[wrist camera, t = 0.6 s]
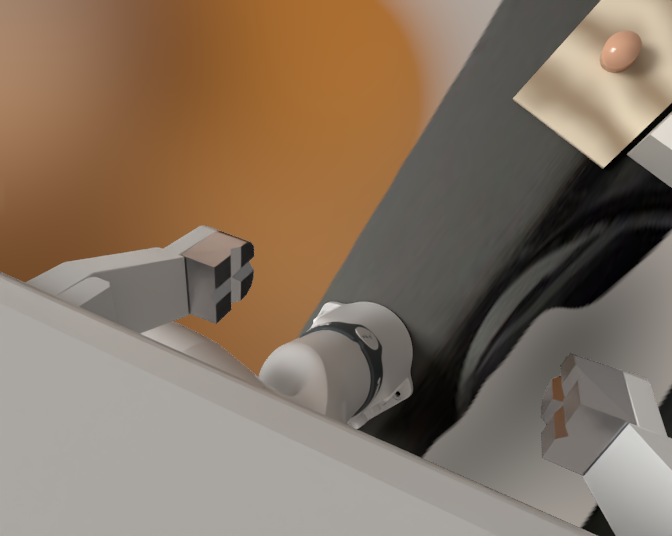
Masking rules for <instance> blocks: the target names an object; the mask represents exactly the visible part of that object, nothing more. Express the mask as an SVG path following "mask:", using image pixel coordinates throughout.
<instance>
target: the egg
mask: <svg viewBox="0 0 672 536" xmlns="http://www.w3.org/2000/svg"><path fill="white" fill-rule="evenodd" d="M641 47H642V41H641V38H640V37H639V35H638V34H636V33H635V32H632V31H621V32H618V33H616V34H614V35H612V36H611V37H610V38H609V39H608V40H607V42H606V43H605V45H604V48H603V50H602V52H601V55H600V65H601V67H602V68H603V69H604V70H606V71H608V72H611V73H617V72H621V71H624V70H626V69H627V68H628V67H630V66H631V65H632V63H633V62H634V60H635V59H636V57H637V56H638V54H639V52H640V50H641Z"/></svg>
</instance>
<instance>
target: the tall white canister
mask: <svg viewBox="0 0 672 536" xmlns="http://www.w3.org/2000/svg"><path fill="white" fill-rule="evenodd" d="M627 155H628V156H629V157H631V158H632V159H634V160H635V161H636V162H638V163H639V164H640V165H642V166H643V167H644V168H646V169H647V170H648V171H650V172H651V173H652V174H654V175H655V176H656V177H658V178H659V179H661V180H662V181H663V182H665V183H666V184H667V185H669V186H670V187H671V188H672V112H671V113H670V114H669V115H668V116H667V117H666V118H664V119H663V120H662V121H661V122H660V123H659V124H658V125H657V126H656V127H655V128H654V129H653V130H652V131H651V132H650V133H649V134H648V135H647V136H646V137H644V138H643V139H642V140H641V141H640V142H639V143H638V144H637V145H636V146H635V147H634V148H633V149H632V150H631V151H630V152H629V153H628V154H627Z"/></svg>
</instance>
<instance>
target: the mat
mask: <svg viewBox="0 0 672 536" xmlns="http://www.w3.org/2000/svg"><path fill="white" fill-rule="evenodd" d="M621 31H632V32H635V33H636V34H638V35H639V37H640V38H641V41H642V47H641V50H640V52H639V54H638V56H637V57H636V59H635V60H634V62H633V63H632V65H631V66H630V67H628V68H627V69H626V70H624V71H621V72H617V73H611V72H608V71H606V70H604V69H603V68H602V67H601V65H600V55H601V52H602V50H603V48H604V45H605V43H606V42H607V40H608V39H609V38H610V37H611V36H612V35H614V34H616V33H618V32H621ZM513 100H514V101H515V102H516V103H518V104H519V105H520V106H522V107H523V108H524V109H526V110H527V111H528V112H530V113H531V114H532V115H533V116H535V117H536V118H537V119H539V120H540V121H541V122H543V123H544V124H545V125H547V126H548V127H549V128H550V129H552V130H553V131H554V132H556V133H557V134H558V135H560V136H561V137H562V138H564V139H565V140H566V141H567V142H569V143H570V144H571V145H573V146H574V147H575V148H577V149H578V150H579V151H581V152H582V153H583V154H584V155H586V156H587V157H588V158H590V159H591V160H592V161H594V162H595V163H596V164H598V165H599V166H600V167H601V168H604V167H605V166H606V165H607V164H608V163H609V162H610V161H611V160H613V159H614V158H615V157H616V156H617V155H618V154H619V153H620V152H621V151H622V150H623V149H624V148H625V147H626V146H627V145H628V144H629V143H630V142H631V141H632V140H633V139H634V138H636V137H637V136H638V135H639V134H640V133H641V132H642V131H643V130H644V129H645V128H646V127H647V126H648V125H649V124H650V123H651V122H652V121H653V120H654V119H655V118H656V117H657V116H659V115H660V114H661V113H662V112H663V111H664V110H665V109H666V108H667V107H668V106H669V105H670V104H671V103H672V0H601V1H600V2H599V3H598V4H597V5H596V6H595V8H594V9H593V10H592V11H591V12H590V13H589V14H588V15H587V17H586V18H585V19H584V20H583V21H582V22H581V23H580V24H579V25H578V27H577V28H576V29H575V30H574V31H573V32H572V33H571V34H570V35H569V37H568V38H567V39H566V40H565V41H564V42H563V43H562V44H561V45H560V47H559V48H558V49H557V50H556V51H555V52H554V53H553V54H552V56H551V57H550V58H549V59H548V60H547V61H546V62H545V63H544V64H543V66H542V67H541V68H540V69H539V70H538V71H537V72H536V73H535V74H534V76H533V77H532V78H531V79H530V80H529V81H528V82H527V83H526V85H525V86H524V87H523V88H522V89H521V90H520V91H519V92H518V93H517V95H516V96H515V97H514V98H513Z"/></svg>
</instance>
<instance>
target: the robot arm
mask: <svg viewBox="0 0 672 536" xmlns="http://www.w3.org/2000/svg"><path fill="white" fill-rule="evenodd" d="M253 257H254V246H253V245H252V243H251V242H249V241H247V240H244V239H241V238H239V237H236V236H233V235H230V234H228V233H225V232H222V231H219V230H217V229H214V228H211V227H208V226H199V227H198V228H196V229H195V230H193V231H191V232H190V233H188V234H186V235H185V236H183V237H182V238H180V239H178V240H177V241H175V242H173V243H172V244H170V245H169V246H167V247H165V248H164V249H162V248H159V247H157V248H151V249H145V250H138V251H132V252H126V253H120V254H113V255H107V256H100V257H94V258H88V259H82V260H75V261H69V262H64V263H62V264H60V265H58V266H56V267H54V268H52V269H51V270H49V271H47V272H45V273H43V274H41V275H39V276H37V277H35V278H33V279H31V280H29V281H28V282H26V283H24V282H22V281H20V280H17V279H15V278H13V277H10V276H8V275H6V274H4V273H1V272H0V536H597V535H595V534H593V533H590V532H588V531H586V530H584V529H581V528H579V527H577V526H575V525H572V524H570V523H568V522H565V521H563V520H561V519H559V518H556V517H554V516H552V515H550V514H547V513H545V512H543V511H541V510H538V509H536V508H533V507H531V506H529V505H527V504H525V503H522V502H520V501H518V500H516V499H513V498H511V497H509V496H507V495H504V494H502V493H499V492H498V491H495V490H493V489H491V488H488V487H486V486H483V485H481V484H479V483H477V482H475V481H473V480H470V479H468V478H466V477H464V476H461V475H459V474H456V473H454V472H452V471H450V470H448V469H445V468H443V467H441V466H439V465H436V464H434V463H432V462H429V461H427V460H425V459H423V458H421V457H418V456H416V455H414V454H411V453H409V452H407V451H405V450H402V449H400V448H398V447H396V446H393V445H391V444H389V443H387V442H384V441H382V440H380V439H378V438H375V437H373V436H371V435H368V434H366V433H364V432H362V431H359V430H357V429H358V428H360V427H361V426H363V425H364V424H365V423H366V422H367V421H368V420H369V419H371V418H373V417H375V416H377V415H378V414H380V413H382V412H384V411H385V410H387V409H389V408H391V407H392V406H394V405H396V404H398V403H400V402H401V401H403V400H405V399H407V398H408V397H409V396H411V395H412V393H413V383H412V379H411V375H410V370H411V364H412V357H413V349H412V342H411V338H410V335H409V333H408V331H407V329H406V327H405V325H404V324H403V322H402V321H401V320H400V319H399V318H398V317H397V316H396V315H395V314H394V313H393V312H392V311H390V310H389V309H387V308H386V307H384V306H381V305H379V304H376V303H372V302H356V303H351V304H342V303H338V302H328V303H326V304H325V305H324V306H323V308H322V309H321V311H320V313H319V314H318V316H317V317H316V318H315V319H314V320H313V322H314V323H313V325H312V327H311V328H310V330H308V331H307V332H306V333H304V334H303V335H302V336H300V337H299V338H298V339H296V340H294V341H291V342H289V343H287V344H284V345H282V346H280V347H279V348H277V349H276V350H275V351H274V352H273V353H272V354H271V355H270V356H269V357H268V358H267V360H266V361H265V363H264V364H263V366H262V369H261V372H260V375H259V377H258V376H256V375H255V374H254V373H253V372H252V371H250V370H249V369H248V368H247V367H246V366H244V365H243V364H242V363H241V362H240V361H238V360H237V359H236V358H235V357H234V356H232V355H231V354H230V353H229V352H228V351H226V350H225V349H224V348H223V347H222V346H220V345H219V344H218V343H216V342H214V341H212V340H210V339H208V338H207V337H205V336H203V335H201V334H199V333H197V332H195V331H193V330H191V329H188V328H187V327H184V326H182V325H180V324H178V323H175V322H172V321H175V320H177V319H180V318H183V317H185V316H188V315H189V314H192V315H194V316H197V317H199V318H202V319H205V320H208V321H210V322H213V323H216V324H217V323H218V322H219V321H220V320H221V319H222V318H223V317H224V316H225V315H226V314H227V313H228V312H229V311H230V310H231V303H233V302H237V301H240V300H242V299H243V298H244V297H245V296H246V295H247V293H248V291H249V289H250V287H251V285H252V281H253V273H254V270H253V268H252V266H251V264H250V262H249V261H250V260H251V259H252V258H253ZM397 391H398V392H400V395H397V394H396V392H397ZM541 418H542V419H543V421H544V422H545V423H546V427H545V428H544V430H543V431H542V433H541V434H542V435H541V439H542V458H544V459H546V460H548V461H551V462H553V463H555V464H558V465H560V466H562V467H564V468H566V469H569V470H571V471H573V472H576V473H578V474H580V475H583V479H584V481H585V483H586V484H587V486H588V488H589V490H590V491H591V493H592V495H593V496H594V498H595V500H596V502H597V504H598V505H599V507H600V509H601V511H602V512H603V514H604V516H605V518H606V519H607V521H608V523H609V525H610V527H611V528H612V530H613V532H614V534H615V535H616V536H672V439H671V438H668V437H667V434H666V431H665V428H664V425H663V422H662V419H661V416H660V413H659V410H658V407H657V404H656V401H655V397H654V394H653V392H652V388H651V385H650V382H649V381H648V380H647V379H646V378H645V377H643V376H640V375H637V374H634V373H630V372H627V371H624V370H621V369H616V368H613V367H610V366H607V365H604V364H601V363H598V362H595V361H592V360H589V359H586V358H583V357H580V356H577V355H574V354H571V353H570V354H569V355H568V356H567V357H566V358H565V359H564V361H563V362H562V364H561V376H558V377H556V378H553V379H552V380H551V382H550V383H549V385H548V387H547V388H546V391H545V394H544V397H543V400H542V406H541Z"/></svg>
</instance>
